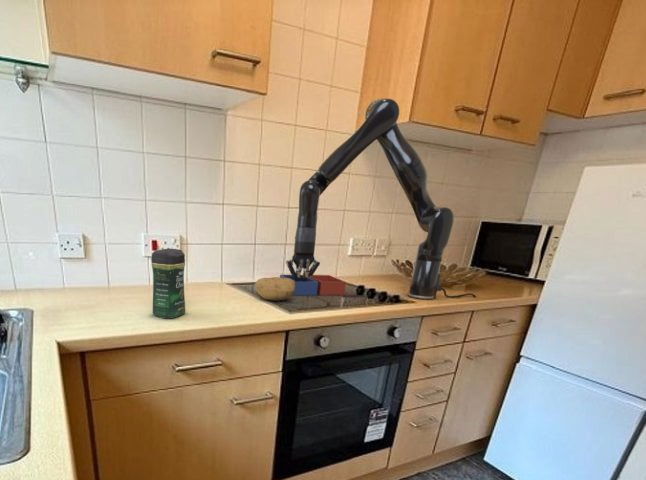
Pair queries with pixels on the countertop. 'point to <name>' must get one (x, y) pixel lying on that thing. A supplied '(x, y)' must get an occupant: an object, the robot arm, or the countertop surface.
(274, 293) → the potato
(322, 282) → the red bin
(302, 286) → the blue bin
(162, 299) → the coffee jar
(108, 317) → the countertop surface
